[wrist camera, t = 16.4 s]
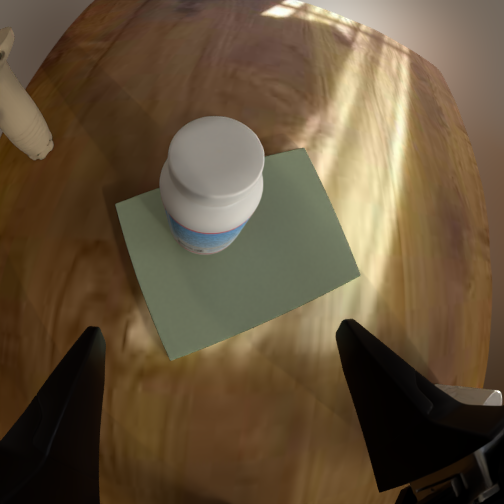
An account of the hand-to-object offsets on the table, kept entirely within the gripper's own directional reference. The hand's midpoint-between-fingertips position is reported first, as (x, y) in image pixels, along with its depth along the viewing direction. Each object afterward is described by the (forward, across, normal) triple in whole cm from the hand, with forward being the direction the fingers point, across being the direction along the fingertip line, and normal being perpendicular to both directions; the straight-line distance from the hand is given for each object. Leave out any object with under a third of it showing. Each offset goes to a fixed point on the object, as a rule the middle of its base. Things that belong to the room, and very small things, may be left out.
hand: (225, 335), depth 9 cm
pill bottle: (+15, 0, +4) cm, 15 cm away
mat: (+14, -3, +5) cm, 15 cm away
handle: (+21, +18, -2) cm, 28 cm away
